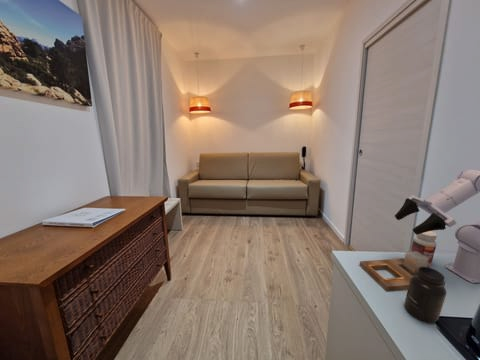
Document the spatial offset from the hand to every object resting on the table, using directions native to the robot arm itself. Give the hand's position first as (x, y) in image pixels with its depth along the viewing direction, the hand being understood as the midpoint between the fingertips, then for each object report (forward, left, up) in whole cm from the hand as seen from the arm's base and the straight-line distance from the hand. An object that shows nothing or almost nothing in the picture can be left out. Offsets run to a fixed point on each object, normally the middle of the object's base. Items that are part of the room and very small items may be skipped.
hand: (404, 224), depth 67 cm
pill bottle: (-12, -3, -16) cm, 21 cm away
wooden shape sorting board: (+2, +3, -16) cm, 17 cm away
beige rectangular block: (-3, +3, -16) cm, 17 cm away
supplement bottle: (+8, +17, -16) cm, 25 cm away
